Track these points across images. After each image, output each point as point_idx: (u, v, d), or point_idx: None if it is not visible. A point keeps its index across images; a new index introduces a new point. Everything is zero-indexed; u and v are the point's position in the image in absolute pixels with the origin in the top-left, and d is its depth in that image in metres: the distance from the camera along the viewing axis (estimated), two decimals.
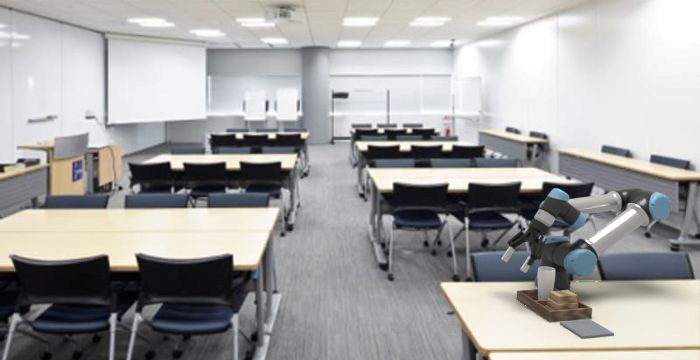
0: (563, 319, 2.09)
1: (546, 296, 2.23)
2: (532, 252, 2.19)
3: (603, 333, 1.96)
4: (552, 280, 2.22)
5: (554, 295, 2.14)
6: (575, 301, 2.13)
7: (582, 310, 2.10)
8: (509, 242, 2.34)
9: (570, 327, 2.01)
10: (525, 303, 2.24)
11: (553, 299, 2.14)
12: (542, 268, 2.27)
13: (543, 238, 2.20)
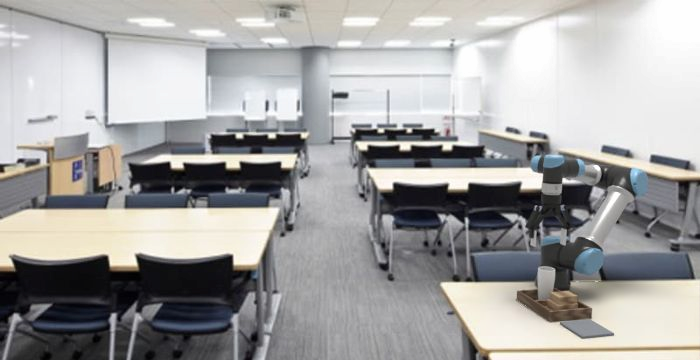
0: (563, 319, 2.09)
1: (546, 296, 2.23)
2: (566, 225, 2.22)
3: (603, 333, 1.96)
4: (552, 280, 2.22)
5: (554, 296, 2.13)
6: (575, 302, 2.12)
7: (582, 310, 2.10)
8: (531, 227, 2.19)
9: (570, 327, 2.01)
10: (525, 303, 2.24)
11: (553, 300, 2.14)
12: (542, 268, 2.27)
13: None
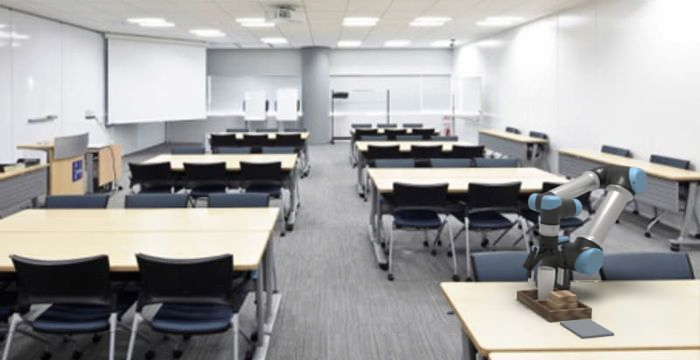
0: (563, 319, 2.09)
1: (546, 296, 2.23)
2: (563, 265, 2.25)
3: (603, 333, 1.96)
4: (552, 280, 2.22)
5: (553, 295, 2.13)
6: (574, 301, 2.12)
7: (582, 310, 2.10)
8: (528, 268, 2.21)
9: (570, 327, 2.01)
10: (525, 303, 2.24)
11: (552, 299, 2.14)
12: (542, 268, 2.27)
13: None
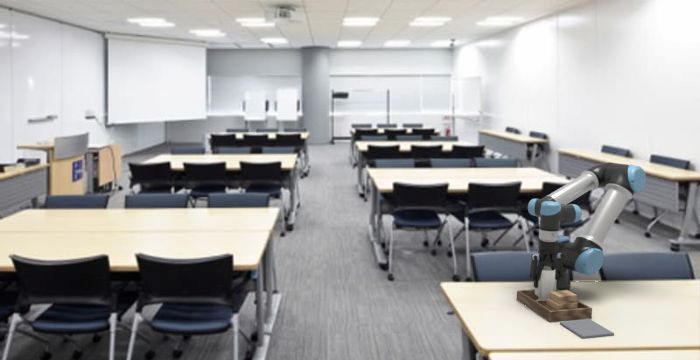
0: (563, 319, 2.09)
1: (546, 296, 2.23)
2: (557, 274, 2.25)
3: (603, 333, 1.96)
4: (552, 280, 2.22)
5: (554, 295, 2.13)
6: (575, 301, 2.13)
7: (582, 310, 2.10)
8: (535, 277, 2.22)
9: (570, 327, 2.01)
10: (525, 303, 2.24)
11: (553, 299, 2.14)
12: None
13: None
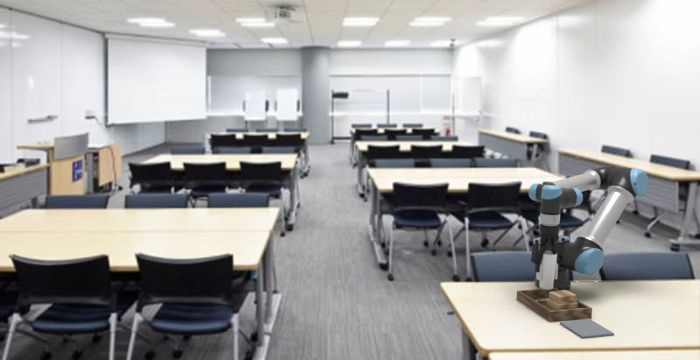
0: (563, 319, 2.09)
1: (548, 280, 2.22)
2: (558, 258, 2.24)
3: (603, 333, 1.96)
4: (554, 264, 2.21)
5: (553, 296, 2.13)
6: (574, 301, 2.13)
7: (582, 310, 2.10)
8: (536, 261, 2.21)
9: (570, 327, 2.01)
10: (525, 303, 2.24)
11: (553, 300, 2.14)
12: None
13: None
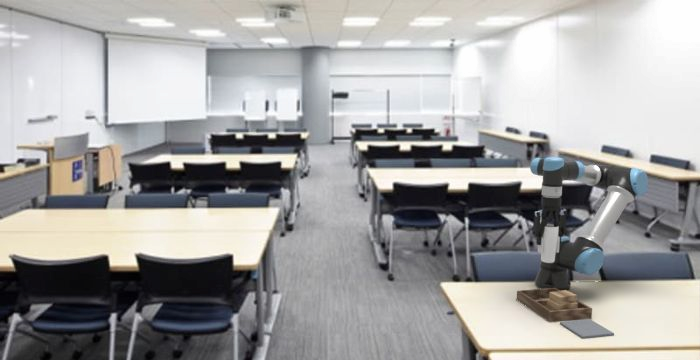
0: (563, 319, 2.09)
1: (549, 253, 2.21)
2: (560, 231, 2.22)
3: (603, 333, 1.96)
4: (555, 237, 2.20)
5: (554, 296, 2.13)
6: (575, 301, 2.13)
7: (582, 310, 2.10)
8: (538, 234, 2.20)
9: (570, 327, 2.01)
10: (525, 303, 2.24)
11: (553, 300, 2.13)
12: None
13: None
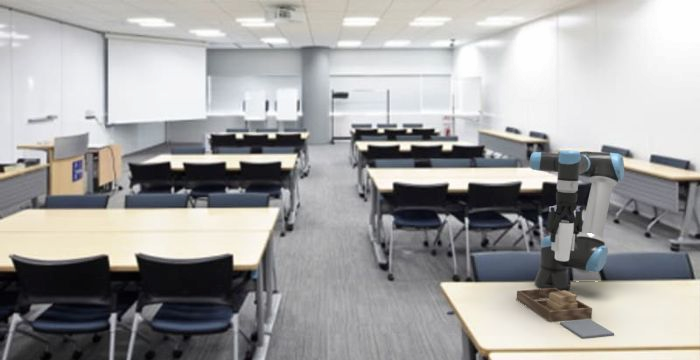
0: (563, 319, 2.09)
1: (563, 251, 2.10)
2: (575, 228, 2.11)
3: (603, 333, 1.96)
4: (570, 234, 2.09)
5: (554, 296, 2.13)
6: (575, 301, 2.13)
7: (582, 310, 2.10)
8: (552, 230, 2.09)
9: (570, 327, 2.01)
10: (525, 303, 2.24)
11: (554, 300, 2.13)
12: (560, 222, 2.14)
13: None
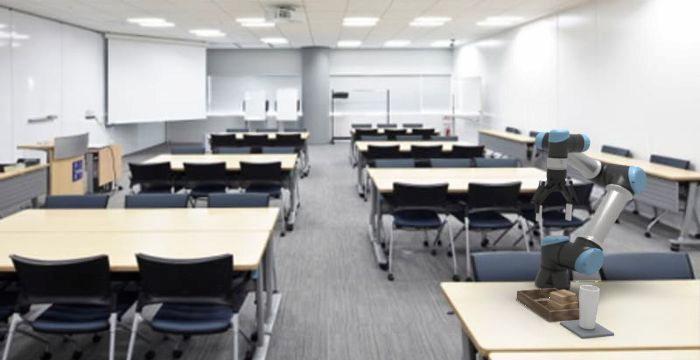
0: (563, 319, 2.09)
1: (589, 319, 1.98)
2: (571, 200, 2.22)
3: (603, 333, 1.96)
4: (596, 301, 1.97)
5: (555, 296, 2.13)
6: (575, 300, 2.14)
7: None
8: (536, 202, 2.18)
9: (570, 327, 2.01)
10: (525, 303, 2.24)
11: (555, 300, 2.13)
12: (584, 287, 2.02)
13: None
